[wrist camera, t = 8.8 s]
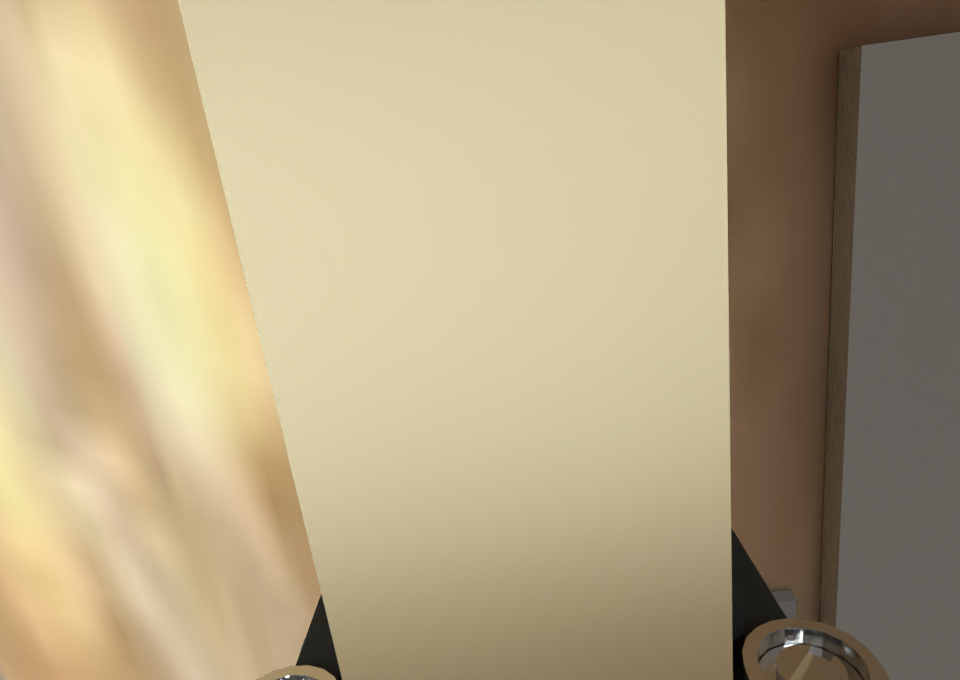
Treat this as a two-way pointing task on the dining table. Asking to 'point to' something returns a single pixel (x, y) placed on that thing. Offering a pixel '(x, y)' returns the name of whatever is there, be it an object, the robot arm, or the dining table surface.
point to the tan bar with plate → (492, 321)
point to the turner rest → (896, 359)
